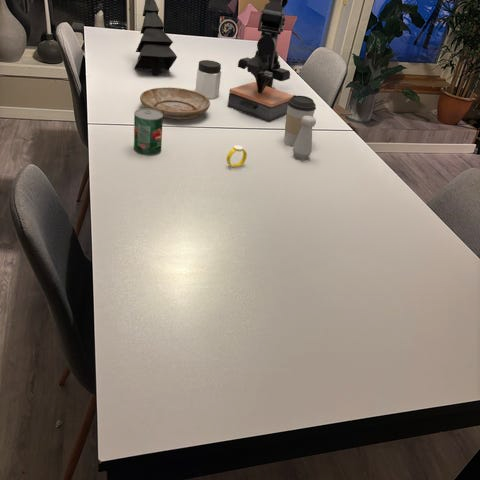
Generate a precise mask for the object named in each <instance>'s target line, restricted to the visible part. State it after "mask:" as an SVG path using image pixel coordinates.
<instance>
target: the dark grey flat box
mask: <svg viewBox="0 0 480 480" xmlns="http://www.w3.org/2000/svg"><path fill="white" fill-rule="evenodd" d="M227 100H228V101H227V108H230V109H232V108H233V110H236V111H238V112H240V111H241V113H243V114H246V115H248V116H251V117H254V118H255V119H259V120H261V121H264V122H266V123H271V122H272V121H275V120H277V119H280V118H281V117H283V116H286V114H287V109H288V104H287V103H288V102H289V101H287V102H285V103H282V104H279V105H277V106H274V107H268V106H266V105H263V104H260V103H258V102H255V101H252V100H249V99H247V98H244V97H241V96H238V95H236V94H233V93H230V92H228V99H227Z"/></svg>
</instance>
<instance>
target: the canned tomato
mask: <svg viewBox="0 0 480 480" xmlns="http://www.w3.org/2000/svg"><path fill="white" fill-rule="evenodd" d="M133 113H134V114H133V115H134V118H133V123H134V124H133V125H134V126H133V139H134V140H133V151H134V152H135V153H136V154H137V155H140V156H145V157H155V156H158V155H160V154H161V153H162V146H163V145H162V142H163V125H164V124H163V122H164V121H163V119H164V117H163V114H162V113H161V112H160V111H158V110H155V109H147V108H145V107H144V108H139V109H136V110H135V111H134V112H133Z"/></svg>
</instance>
